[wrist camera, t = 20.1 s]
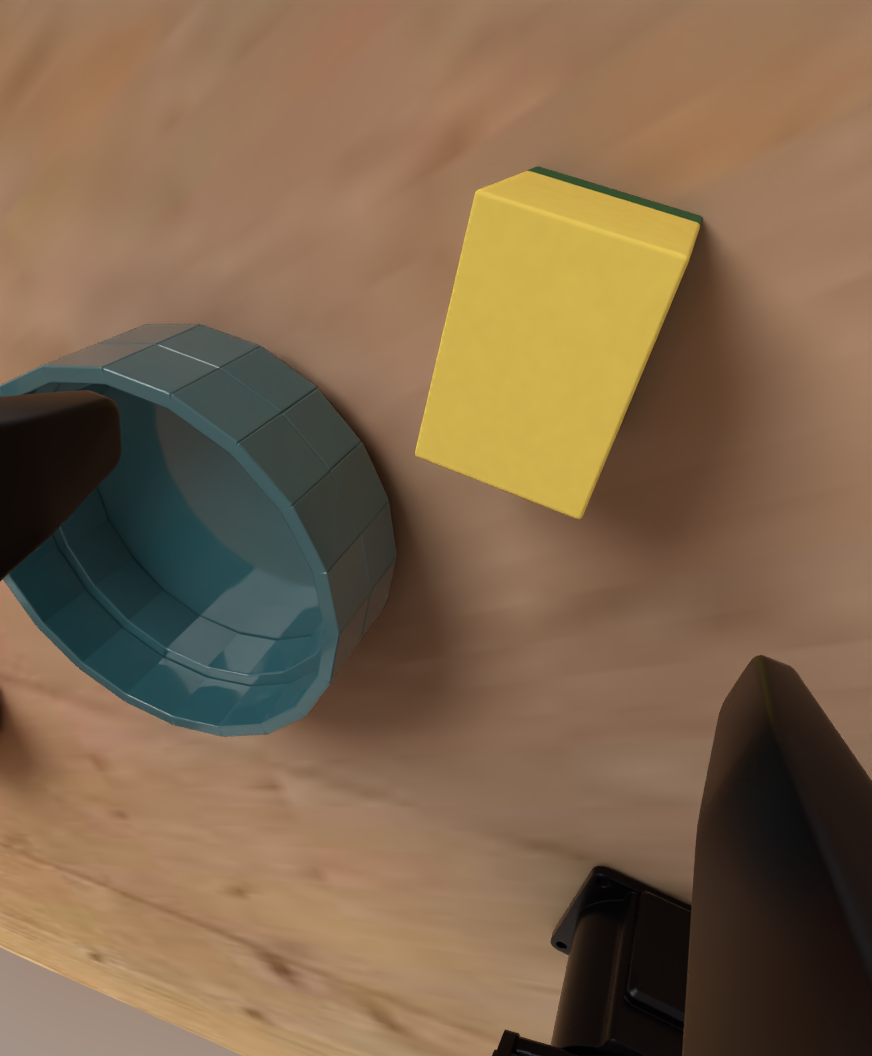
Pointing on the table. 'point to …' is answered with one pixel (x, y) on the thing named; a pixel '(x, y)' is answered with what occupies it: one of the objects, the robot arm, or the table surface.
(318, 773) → the table surface
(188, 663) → the bowl
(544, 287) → the sponge
